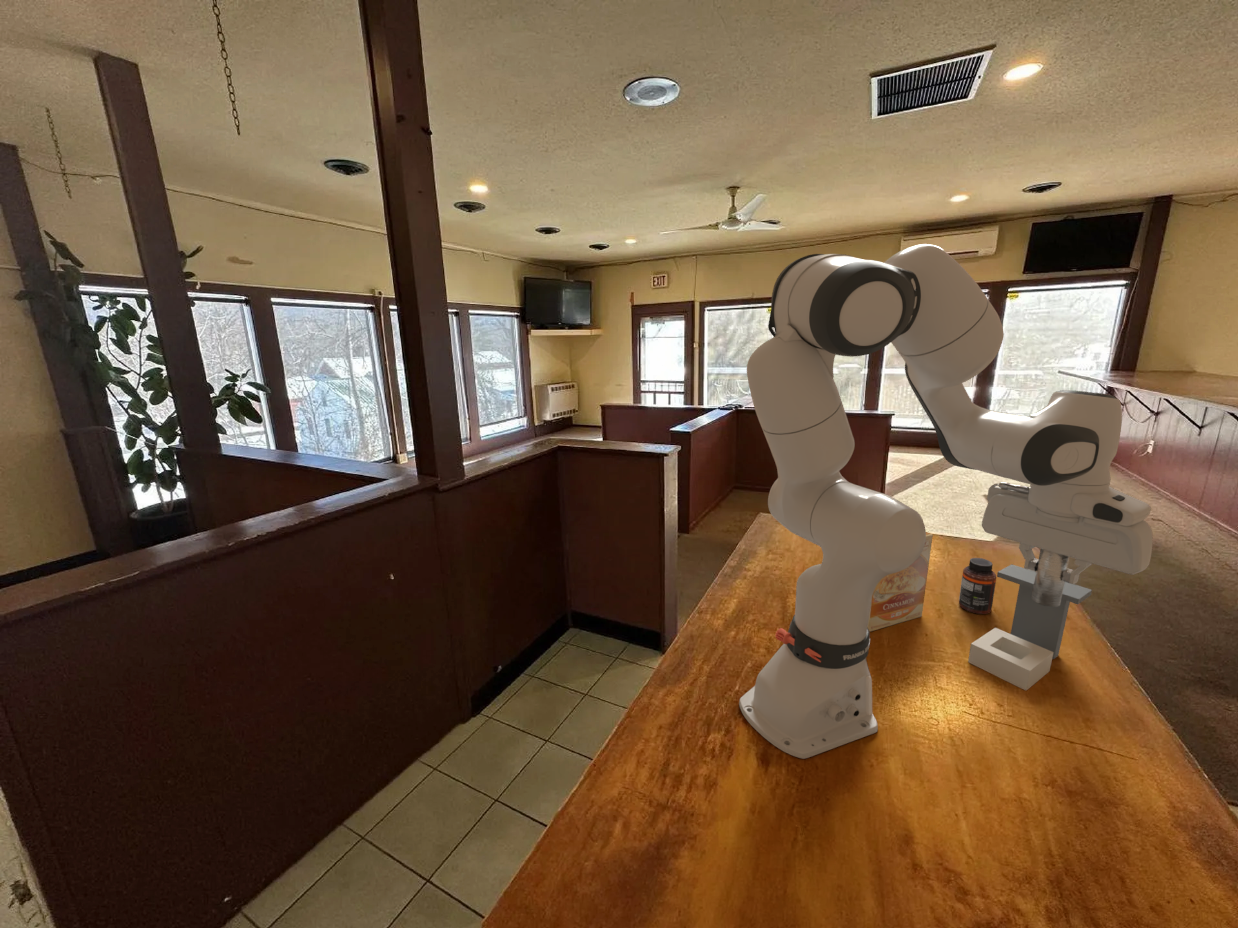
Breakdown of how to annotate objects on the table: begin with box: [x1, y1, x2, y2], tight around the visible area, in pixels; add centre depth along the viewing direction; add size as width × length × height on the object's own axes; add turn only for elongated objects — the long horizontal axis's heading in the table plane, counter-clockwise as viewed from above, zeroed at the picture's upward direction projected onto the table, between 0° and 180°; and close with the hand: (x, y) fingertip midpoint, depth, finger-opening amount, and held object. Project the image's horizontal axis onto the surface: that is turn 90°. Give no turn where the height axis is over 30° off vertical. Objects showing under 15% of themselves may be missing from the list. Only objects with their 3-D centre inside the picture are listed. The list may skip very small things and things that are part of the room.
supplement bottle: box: [958, 557, 997, 615], centre depth 106 cm, size 6×6×11 cm
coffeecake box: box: [867, 531, 934, 633], centre depth 104 cm, size 15×7×20 cm, turn 108°
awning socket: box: [967, 564, 1093, 691], centre depth 89 cm, size 16×12×15 cm
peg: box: [1031, 548, 1071, 607], centre depth 78 cm, size 4×4×10 cm
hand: (1050, 575), depth 78 cm, fingers closed on peg, 4 cm apart
